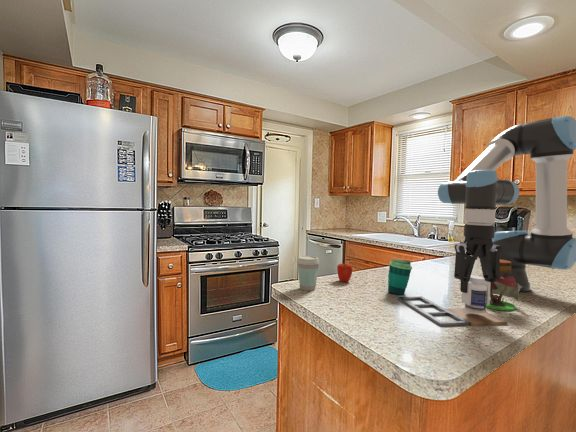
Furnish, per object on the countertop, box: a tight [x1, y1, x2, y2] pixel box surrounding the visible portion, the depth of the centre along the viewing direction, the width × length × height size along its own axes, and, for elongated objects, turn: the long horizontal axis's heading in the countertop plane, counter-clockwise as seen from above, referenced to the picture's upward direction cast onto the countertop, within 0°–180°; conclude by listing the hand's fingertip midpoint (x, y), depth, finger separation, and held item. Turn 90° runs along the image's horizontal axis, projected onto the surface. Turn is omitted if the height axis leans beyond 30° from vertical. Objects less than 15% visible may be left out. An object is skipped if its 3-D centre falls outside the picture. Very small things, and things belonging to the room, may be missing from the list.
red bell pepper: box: [336, 263, 353, 283], centre depth 127 cm, size 6×6×8 cm
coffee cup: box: [296, 255, 320, 292], centre depth 115 cm, size 9×8×12 cm
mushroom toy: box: [486, 259, 522, 312], centre depth 99 cm, size 12×13×15 cm
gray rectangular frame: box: [397, 295, 471, 327], centre depth 93 cm, size 9×23×1 cm, turn 8°
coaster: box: [445, 307, 508, 327], centre depth 89 cm, size 11×11×1 cm
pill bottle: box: [464, 275, 487, 313], centre depth 88 cm, size 5×5×10 cm
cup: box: [387, 258, 413, 296], centre depth 112 cm, size 8×8×12 cm
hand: (475, 302), depth 88 cm, fingers closed on pill bottle, 5 cm apart
